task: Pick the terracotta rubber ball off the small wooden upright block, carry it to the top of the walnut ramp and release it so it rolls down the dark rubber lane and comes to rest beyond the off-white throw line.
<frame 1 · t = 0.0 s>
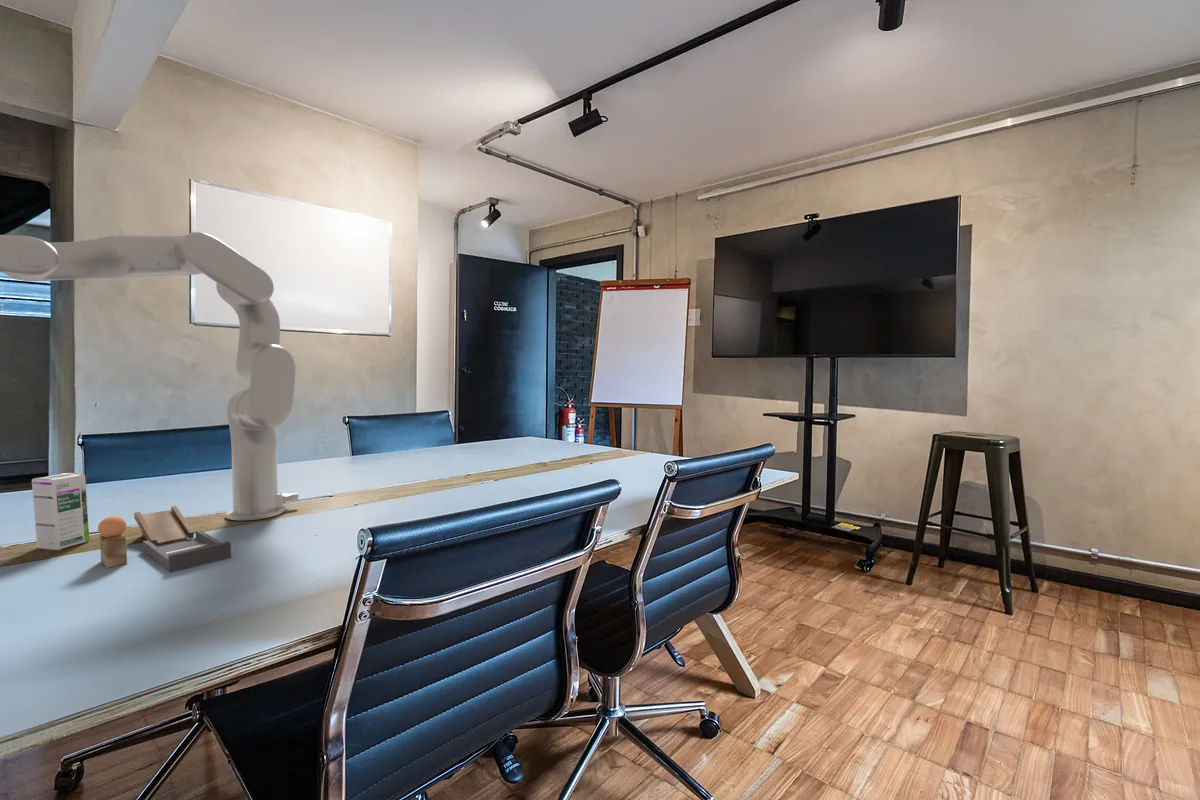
ramp: (164, 539, 116), on the table
wooden upright block: (114, 562, 103), on the table
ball: (112, 526, 102), point 7 cm above the table, touching wooden upright block
lane: (185, 553, 108), on the table
syrup box: (63, 545, 111), on the table
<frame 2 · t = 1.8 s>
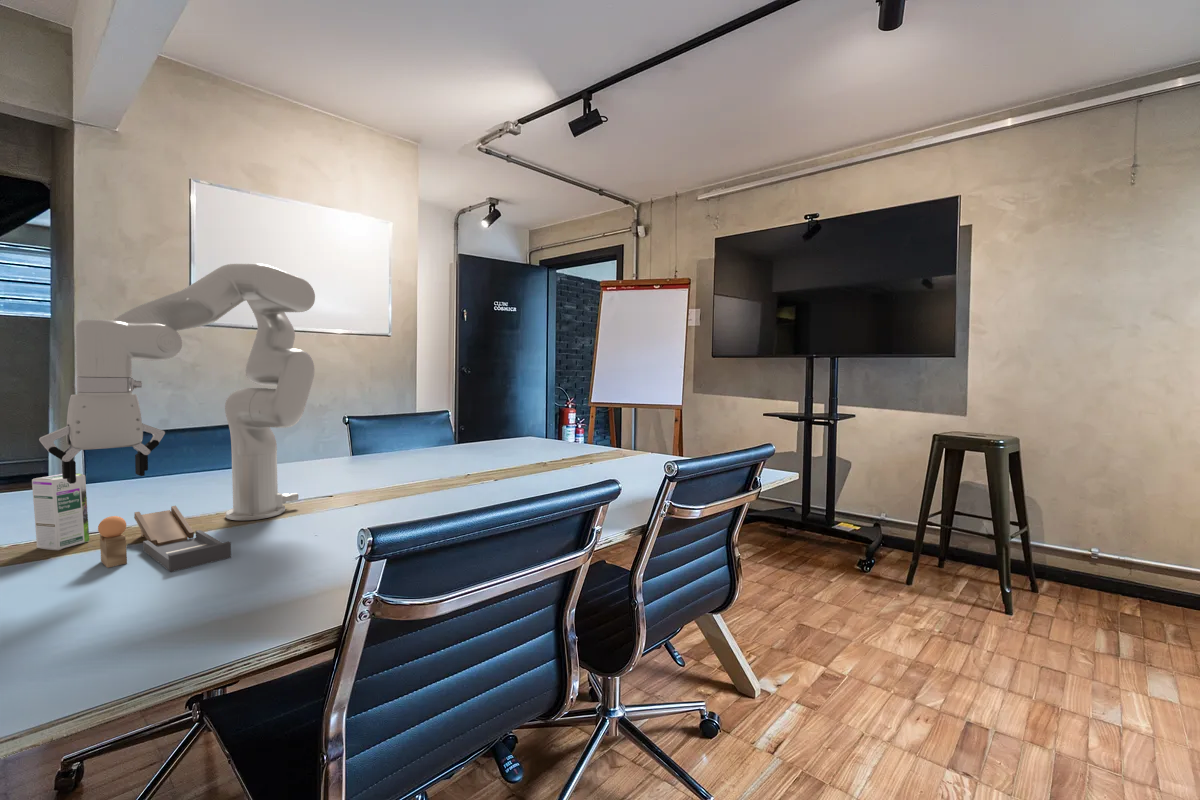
hand: (107, 478, 101), 16 cm above the table, fingers open, 9 cm apart
nothing on the table moved.
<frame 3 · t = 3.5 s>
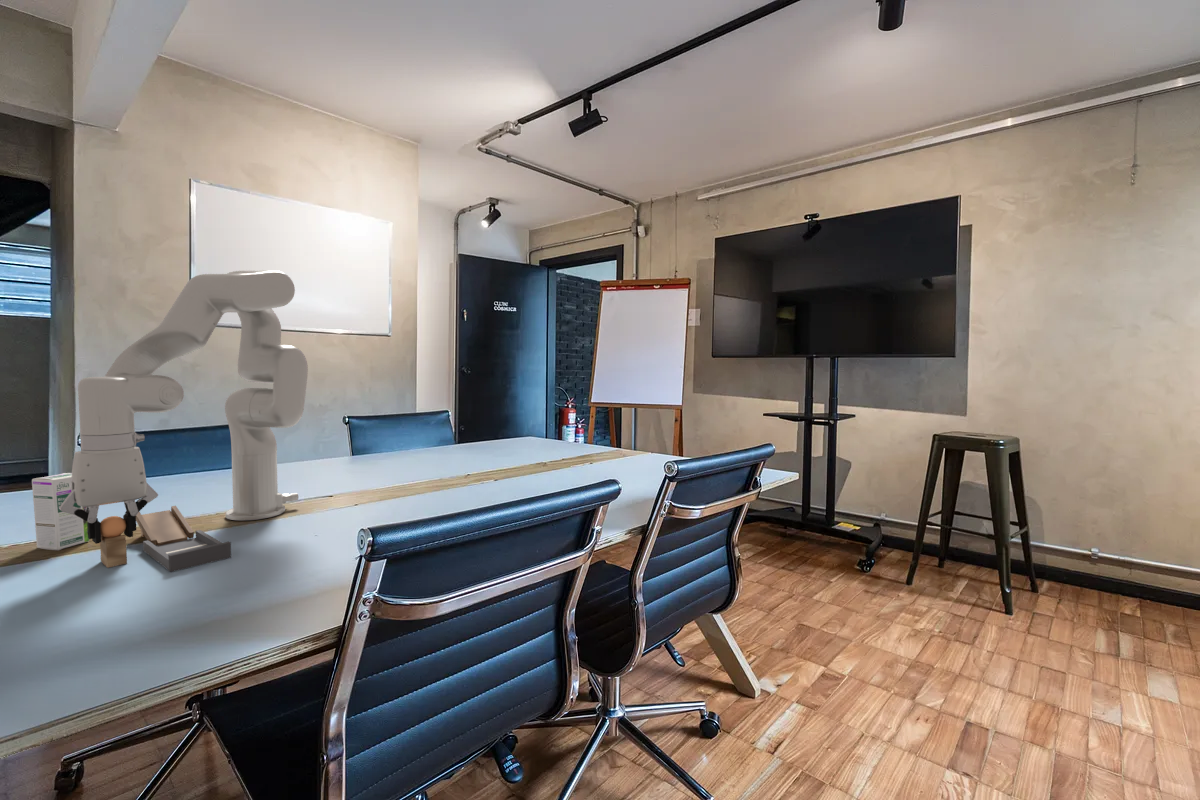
hand: (112, 537, 102), 5 cm above the table, fingers closed on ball, 4 cm apart
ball: (112, 526, 102), point 7 cm above the table, touching gripper, wooden upright block
everything else where it was.
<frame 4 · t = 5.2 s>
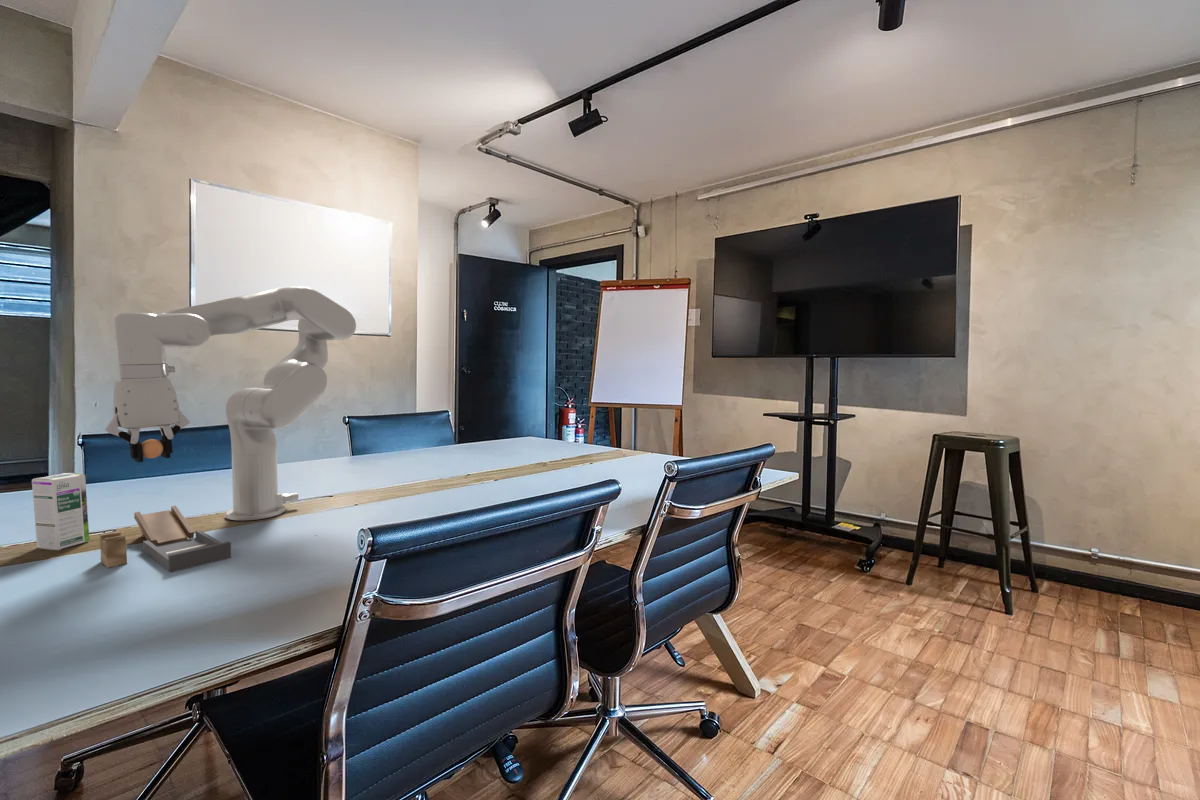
hand: (152, 458, 114), 18 cm above the table, fingers closed on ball, 4 cm apart
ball: (151, 448, 114), point 20 cm above the table, touching gripper
everything else where it was.
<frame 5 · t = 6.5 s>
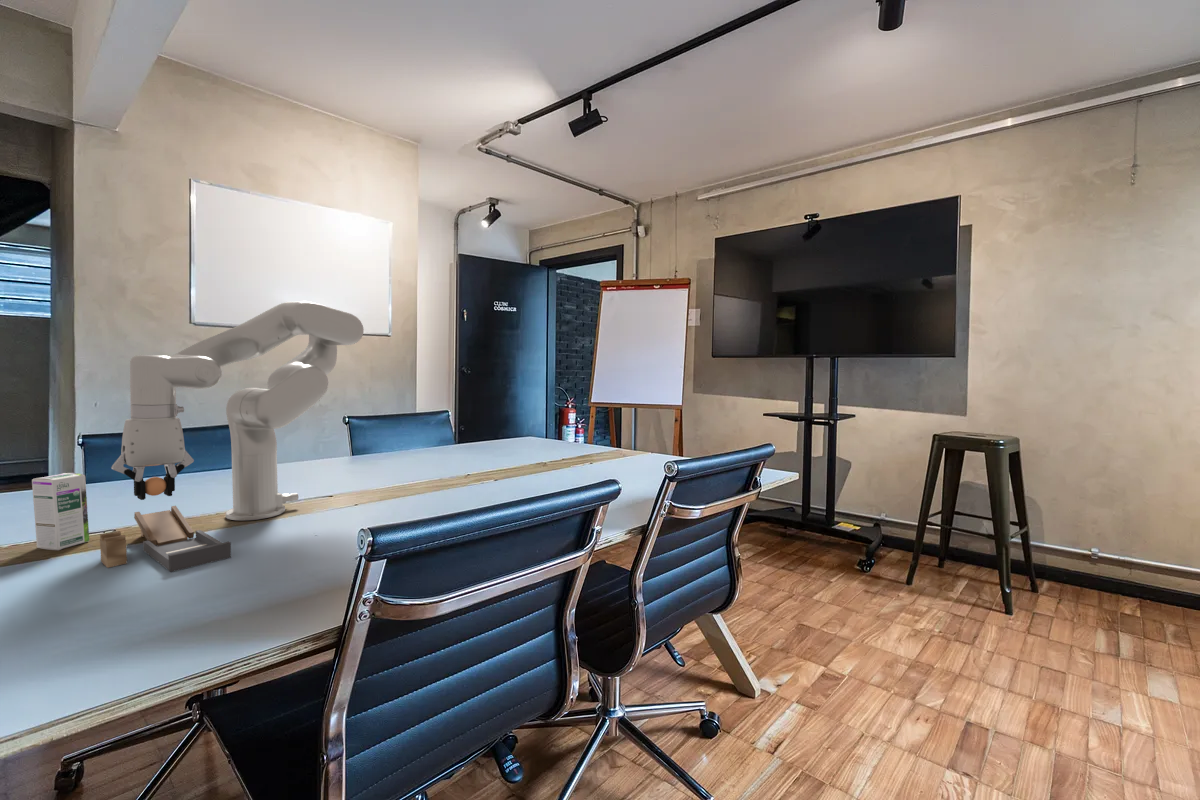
hand: (154, 496, 117), 9 cm above the table, fingers closed on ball, 4 cm apart
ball: (154, 486, 117), point 11 cm above the table, touching gripper
everything else where it was.
when the fingers open (7 cm above the table, at t = 7.1 s): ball drops 6 cm, resting on lane.
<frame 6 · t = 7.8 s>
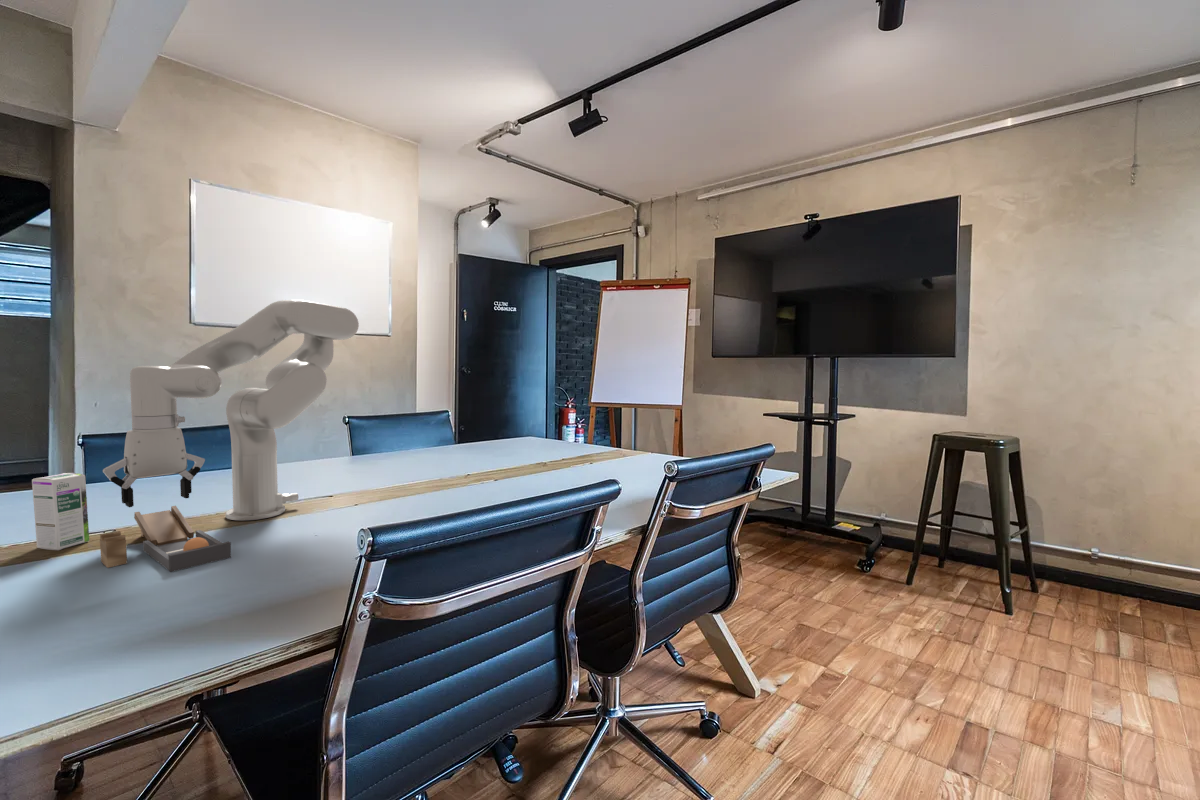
hand: (158, 501, 117), 8 cm above the table, fingers open, 9 cm apart
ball: (196, 547, 104), point 2 cm above the table, tilted 22°, touching lane
everything else where it was.
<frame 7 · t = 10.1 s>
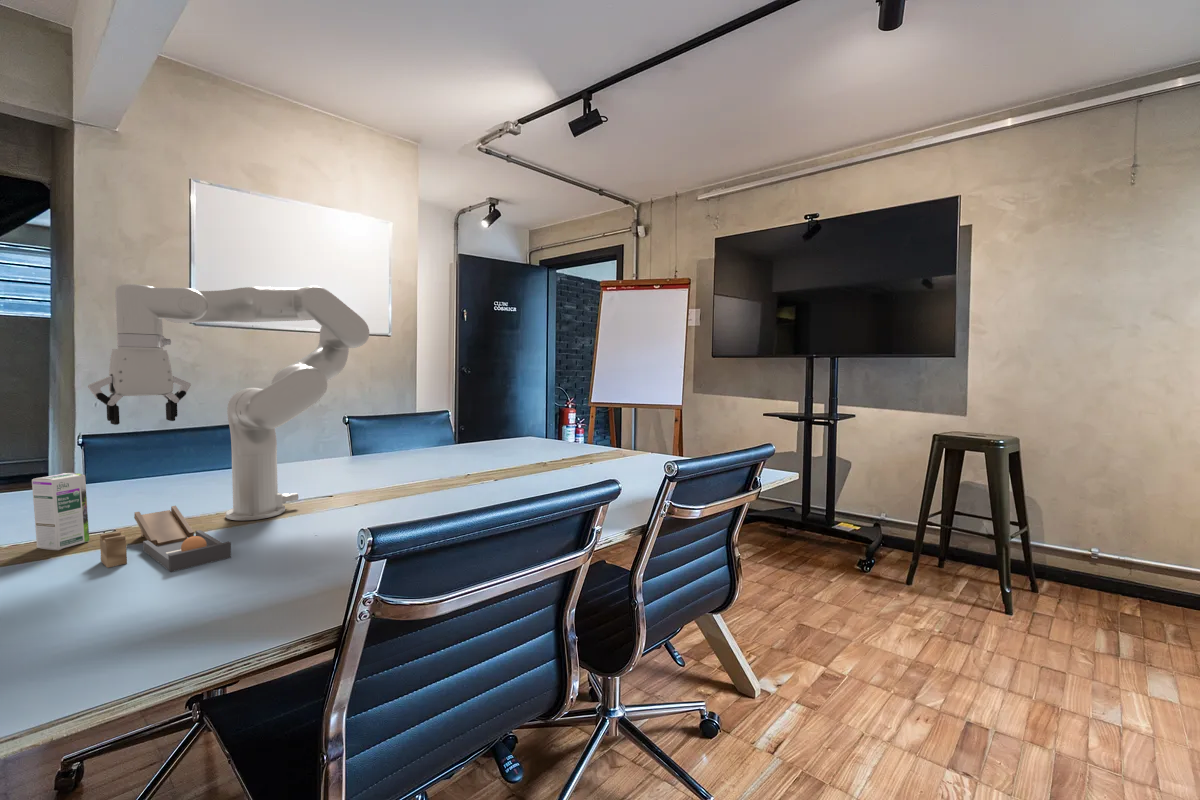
hand: (143, 422, 117), 25 cm above the table, fingers open, 9 cm apart
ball: (194, 546, 105), point 2 cm above the table, tilted 58°, touching lane
everything else where it was.
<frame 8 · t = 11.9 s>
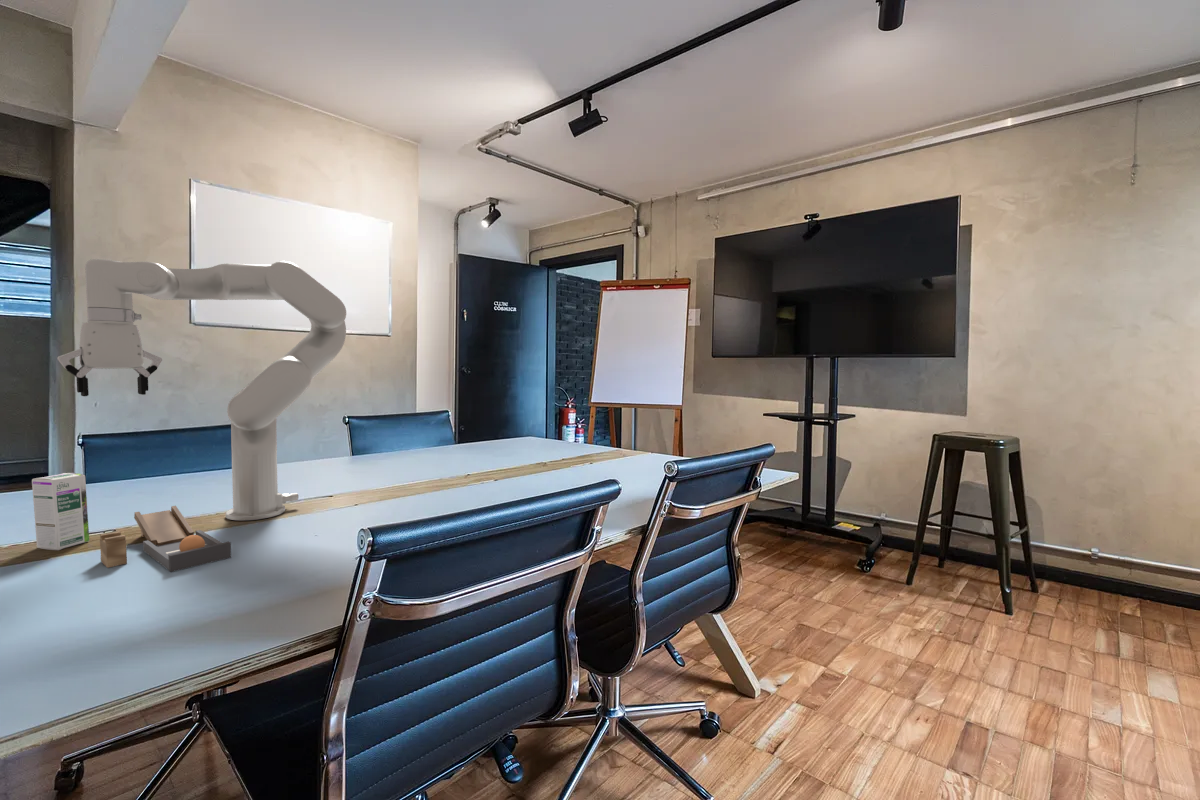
hand: (114, 395, 120), 30 cm above the table, fingers open, 9 cm apart
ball: (192, 545, 105), point 2 cm above the table, tilted 86°, touching lane
everything else where it was.
at the end: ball inside the target area (1.6 cm from its centre), point 2.5 cm above the table; the gripper is holding nothing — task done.
